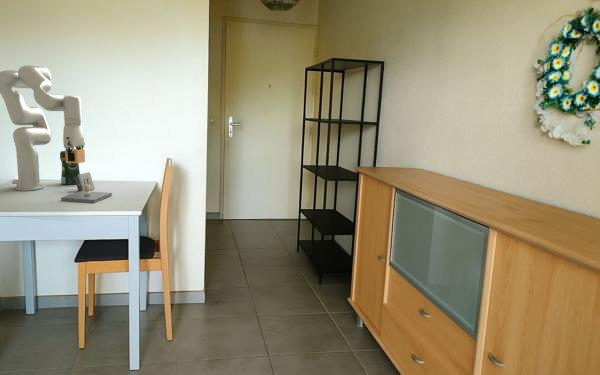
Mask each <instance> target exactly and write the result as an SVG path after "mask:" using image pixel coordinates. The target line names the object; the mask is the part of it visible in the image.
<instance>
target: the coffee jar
mask: <svg viewBox="0 0 600 375" xmlns="http://www.w3.org/2000/svg"><path fill="white" fill-rule="evenodd" d="M59 160H60V161H61V175H60V176H61V179H60V183H61V184H62V185H68V186H72V185H74V186H75V185H76V182H75V178H74V177H77V176H78V175H79V174H81V172H80V166H79V165H80V163H66V156H65V150H61V151H60V153H59ZM78 184H79V183H78Z"/></svg>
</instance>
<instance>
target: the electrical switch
mask: <svg viewBox="0 0 600 375" xmlns="http://www.w3.org/2000/svg"><path fill="white" fill-rule="evenodd" d="M74 178H75V182H76V184H75V185H76V188H77V192H79V191H84V185H90V191H92V190H95V184H94V180H93V178H92V174H91V172H90V171H88V172H87V171H86V172H83V173H80V174H79V175H78V176H77V177H74ZM78 183H79V184H78Z"/></svg>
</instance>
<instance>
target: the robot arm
mask: <svg viewBox="0 0 600 375" xmlns="http://www.w3.org/2000/svg"><path fill="white" fill-rule="evenodd" d="M51 80H52V75H51V72H50V70H49V69H48V68H47V67H44V66H37V65H36V66H35V65H26V64H25V65H23V66H20V68H19V69H18V70H16V69H15V70H11V69H5V70H2V71H0V96H1V97H2V99H3V101H4V103H5V107H6V110H7V113H8V116H9V119H10V121H11V123H12V124H13V125H15V126H20V127H17V128H16V129H14V131H13V133H12V139H13V142H14V147H15V153H16V154H15V155H16V163H17V165H16V166H17V168H16V169H17V179H13V180H12V181H11V184H12V185H16V186H15V187H14V189H15V190H17V191H23V192H24V191H27V192H28V191H38V190H43V189H44V185H42V184H41V183H40V164H39V153H38V151H37V150H36V148H35V146H45V145H47V144H49V143H50V142H51V139H52V134H51V131H50V127H49V124H48V121H47V118H46V115H45V114H44V111H43V110H42V109H41V108H43V109H44V110H45V111H48V112H63V120H64V122H63V123H64V126H63V138H62V139H63V140H62V142H63V148H64V149H65V150H66V151H67V154H68V161H73V162H74V161H75V154H74V153H73V152H74V149H83V150H84V149H85V148H84V147H85V145H86V143H85V137H84V136H85V135H84V129H83V116H82V115H83V114H82V112H83V111H82V98H81V97H80V96H77V95H67V94H64V95H62V94H49V92H50V91H51V88H52V82H51ZM17 89H31V90H32V91H33V98H34V101H35V102H36V103H37V104H38V105H39V106H40V107H41V108H39V107H37V106H28V105H27V104H26V102H25V99H24V97H23V96H22V94H21V93H20V92H19V91H18V90H17ZM21 126H22V127H21Z"/></svg>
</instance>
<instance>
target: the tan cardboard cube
mask: <svg viewBox="0 0 600 375" xmlns="http://www.w3.org/2000/svg"><path fill="white" fill-rule="evenodd" d="M64 151H65V156H66V163H79V164H82V163H85V162H86V155H85V149H84V148H83V149H76V148H74V152H73V153H74V154H75V161H74V162H73V161H68V154H67V151H66V149H65V150H64Z"/></svg>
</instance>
